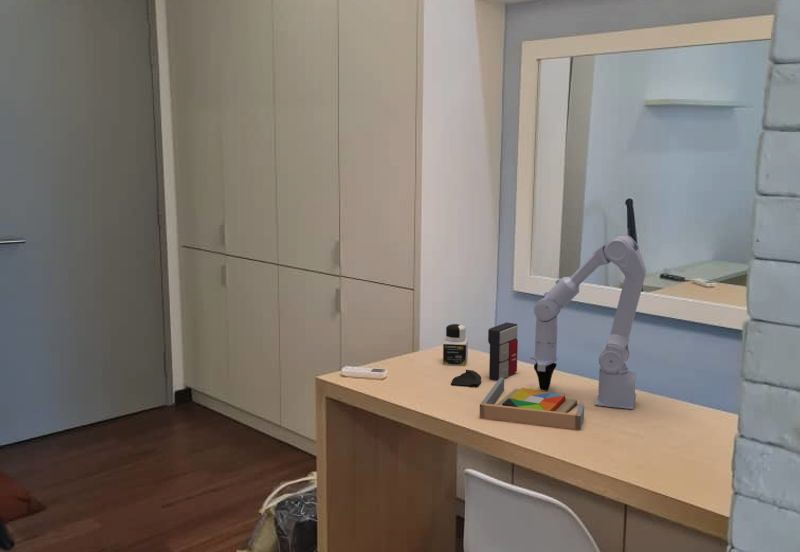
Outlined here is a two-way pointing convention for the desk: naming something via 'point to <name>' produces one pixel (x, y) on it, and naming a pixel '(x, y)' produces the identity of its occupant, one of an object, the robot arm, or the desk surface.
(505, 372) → the grey and red box
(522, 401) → the wooden puzzle
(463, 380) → the dark sector wedge
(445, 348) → the medicine bottle
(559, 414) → the bay
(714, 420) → the desk surface
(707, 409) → the desk surface
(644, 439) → the desk surface
